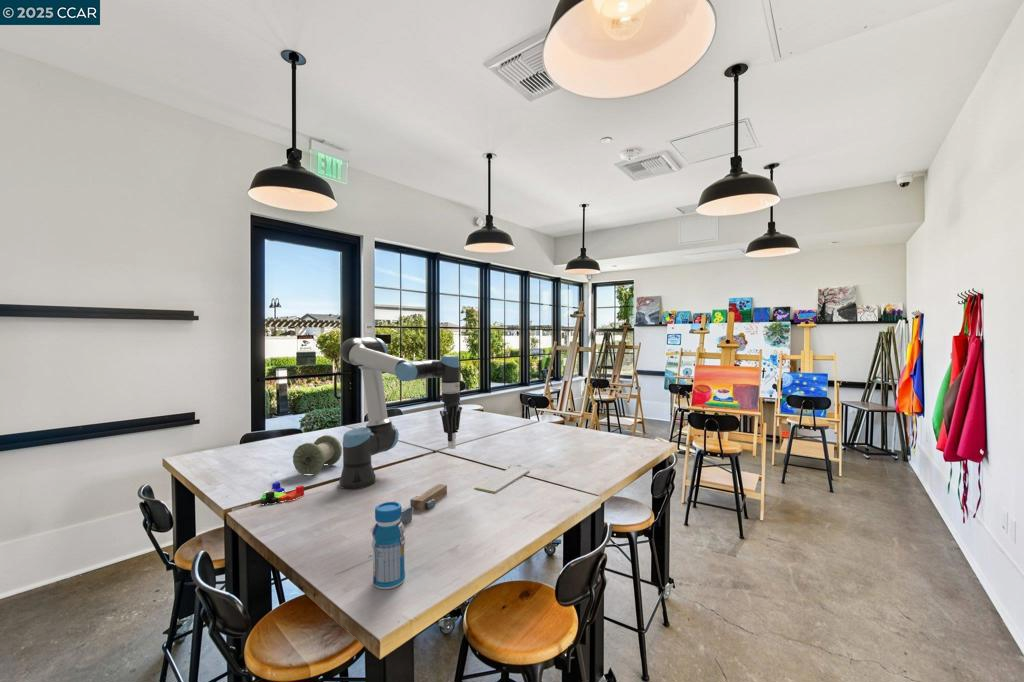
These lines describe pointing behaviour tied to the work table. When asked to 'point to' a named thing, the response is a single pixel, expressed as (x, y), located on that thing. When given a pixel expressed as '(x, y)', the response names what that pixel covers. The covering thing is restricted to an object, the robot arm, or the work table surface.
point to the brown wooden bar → (429, 496)
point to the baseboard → (502, 480)
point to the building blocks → (280, 494)
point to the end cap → (406, 514)
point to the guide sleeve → (428, 504)
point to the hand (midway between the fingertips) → (451, 448)
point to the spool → (317, 454)
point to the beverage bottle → (388, 546)
